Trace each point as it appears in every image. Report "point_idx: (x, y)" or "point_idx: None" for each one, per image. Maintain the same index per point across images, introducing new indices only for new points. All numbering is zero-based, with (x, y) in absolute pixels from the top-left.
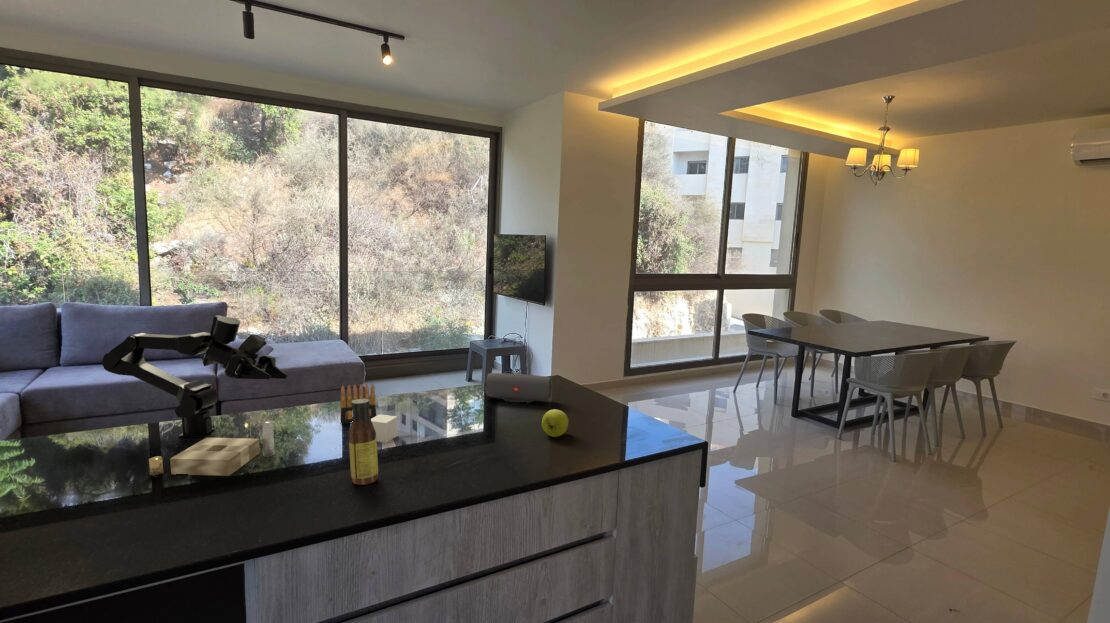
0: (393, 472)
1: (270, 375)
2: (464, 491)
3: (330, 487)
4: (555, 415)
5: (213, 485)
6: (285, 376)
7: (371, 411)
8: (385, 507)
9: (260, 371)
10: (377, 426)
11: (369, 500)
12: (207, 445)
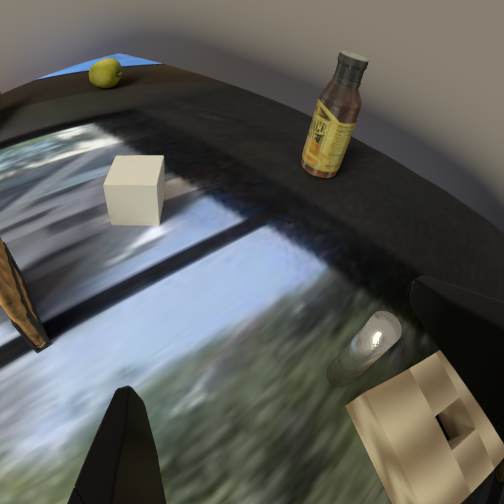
0: (276, 153)
1: (418, 278)
2: (279, 107)
3: (359, 193)
4: (116, 60)
5: None
6: (137, 398)
7: (13, 262)
8: (349, 142)
9: (495, 307)
10: (160, 178)
11: (350, 154)
12: (459, 461)
